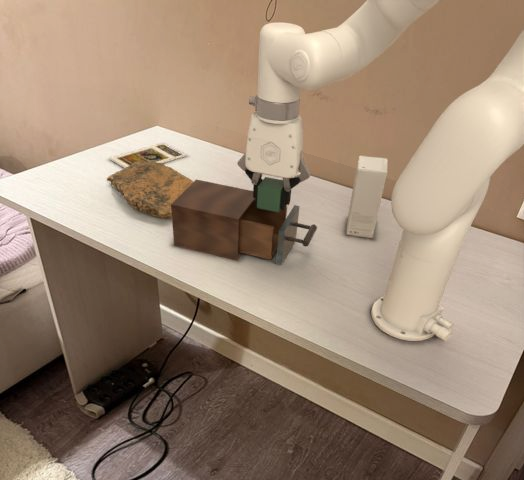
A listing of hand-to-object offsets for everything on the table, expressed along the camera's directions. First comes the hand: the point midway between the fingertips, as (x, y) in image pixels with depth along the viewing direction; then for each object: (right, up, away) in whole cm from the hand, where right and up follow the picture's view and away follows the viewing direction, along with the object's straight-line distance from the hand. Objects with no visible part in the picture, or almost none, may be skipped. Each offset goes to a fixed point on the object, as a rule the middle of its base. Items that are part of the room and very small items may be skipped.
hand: (271, 203), depth 98 cm
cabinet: (-12, -5, +10) cm, 16 cm away
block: (0, 0, 0) cm, 0 cm away
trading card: (-34, +24, +38) cm, 56 cm away
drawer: (0, -7, +7) cm, 10 cm away
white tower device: (+21, -1, +17) cm, 27 cm away
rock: (-29, +8, +22) cm, 38 cm away
